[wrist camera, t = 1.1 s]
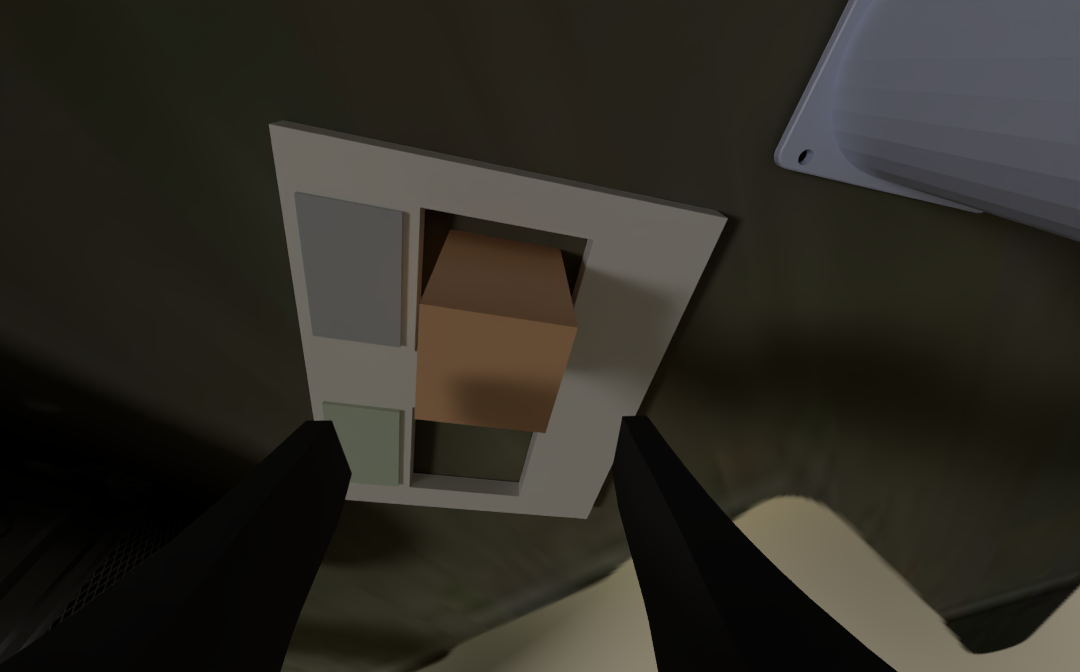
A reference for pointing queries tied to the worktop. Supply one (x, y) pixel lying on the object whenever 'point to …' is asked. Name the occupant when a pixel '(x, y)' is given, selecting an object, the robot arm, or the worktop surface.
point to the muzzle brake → (71, 539)
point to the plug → (493, 334)
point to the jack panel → (395, 293)
